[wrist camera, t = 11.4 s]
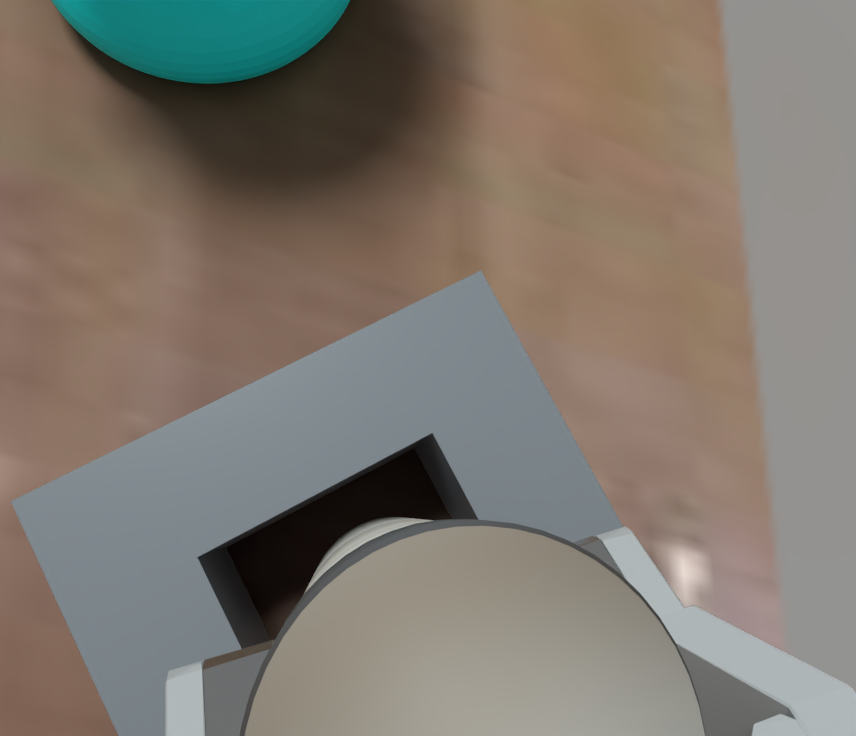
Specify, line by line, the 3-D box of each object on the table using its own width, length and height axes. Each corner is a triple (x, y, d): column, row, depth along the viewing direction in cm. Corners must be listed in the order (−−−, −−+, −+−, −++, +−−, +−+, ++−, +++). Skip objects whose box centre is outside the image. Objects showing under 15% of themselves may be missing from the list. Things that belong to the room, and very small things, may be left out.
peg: (509, 638, 18) (799, 862, 7) (356, 728, 18) (375, 1159, 6) (430, 484, 19) (567, 440, 7) (276, 566, 18) (148, 667, 6)
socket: (651, 675, 22) (728, 716, 18) (272, 915, 20) (253, 1030, 16) (454, 315, 24) (481, 270, 19) (78, 503, 21) (10, 501, 17)
